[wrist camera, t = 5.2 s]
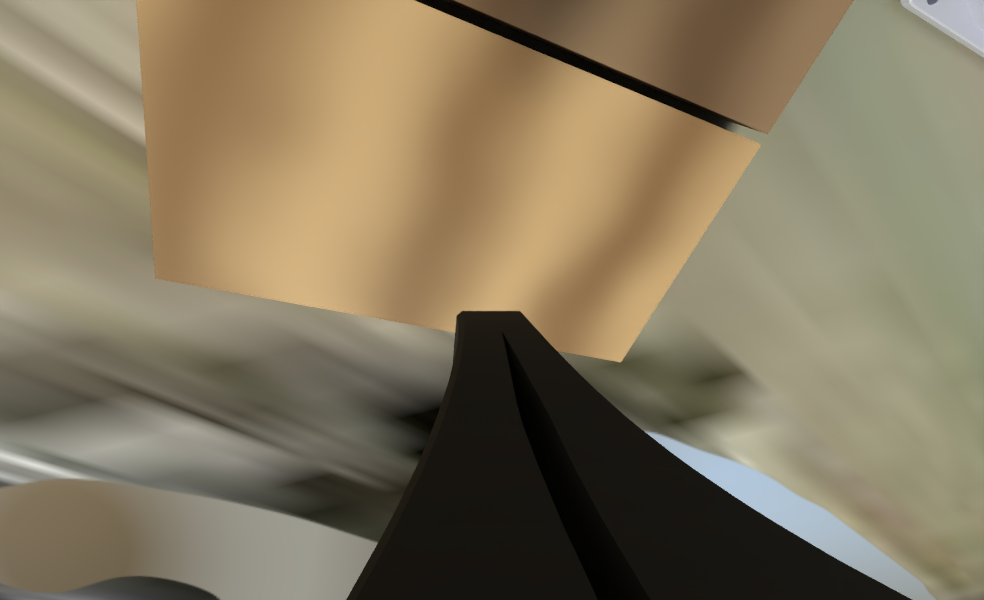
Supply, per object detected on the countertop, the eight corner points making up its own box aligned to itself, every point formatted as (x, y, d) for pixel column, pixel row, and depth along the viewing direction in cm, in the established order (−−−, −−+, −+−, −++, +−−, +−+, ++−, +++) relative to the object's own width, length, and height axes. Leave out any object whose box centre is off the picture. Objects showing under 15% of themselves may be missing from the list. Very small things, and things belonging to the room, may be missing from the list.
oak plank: (725, 130, 16) (761, 144, 14) (604, 334, 21) (620, 362, 19) (172, -98, 11) (127, -119, 9) (182, 250, 15) (155, 278, 14)
